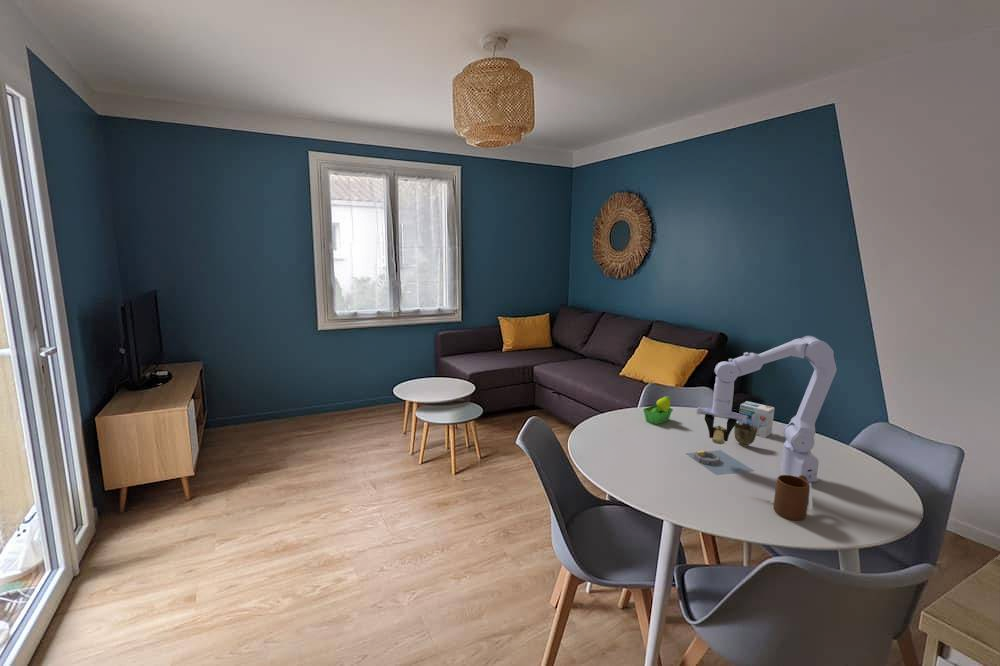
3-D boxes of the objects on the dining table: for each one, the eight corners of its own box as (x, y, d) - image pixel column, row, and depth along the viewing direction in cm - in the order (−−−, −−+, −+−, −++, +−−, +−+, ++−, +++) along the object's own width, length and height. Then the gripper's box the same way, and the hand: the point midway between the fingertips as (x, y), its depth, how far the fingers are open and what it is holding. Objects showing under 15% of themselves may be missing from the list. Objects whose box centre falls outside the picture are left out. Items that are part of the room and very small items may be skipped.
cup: (750, 443, 174) (752, 422, 173) (758, 451, 167) (761, 430, 166) (729, 442, 175) (731, 421, 174) (736, 450, 168) (739, 429, 167)
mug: (786, 498, 135) (790, 467, 134) (816, 509, 130) (821, 477, 128) (768, 511, 128) (772, 479, 126) (799, 524, 122) (803, 491, 121)
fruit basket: (656, 415, 203) (658, 389, 201) (675, 421, 197) (677, 394, 195) (641, 420, 196) (643, 394, 194) (660, 427, 189) (662, 400, 188)
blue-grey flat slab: (754, 473, 150) (755, 466, 150) (715, 477, 147) (716, 470, 147) (720, 452, 166) (721, 446, 165) (684, 456, 162) (685, 449, 162)
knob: (725, 444, 153) (727, 430, 152) (712, 443, 154) (713, 428, 153) (724, 440, 156) (725, 426, 155) (711, 438, 158) (712, 424, 157)
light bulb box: (736, 430, 188) (739, 403, 186) (743, 426, 192) (746, 400, 190) (765, 438, 180) (769, 410, 178) (772, 433, 184) (775, 407, 183)
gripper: (749, 399, 152) (744, 439, 155) (701, 391, 160) (697, 430, 162) (747, 405, 146) (742, 446, 149) (697, 397, 154) (693, 436, 156)
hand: (718, 438), depth 155 cm, fingers closed on knob, 4 cm apart
